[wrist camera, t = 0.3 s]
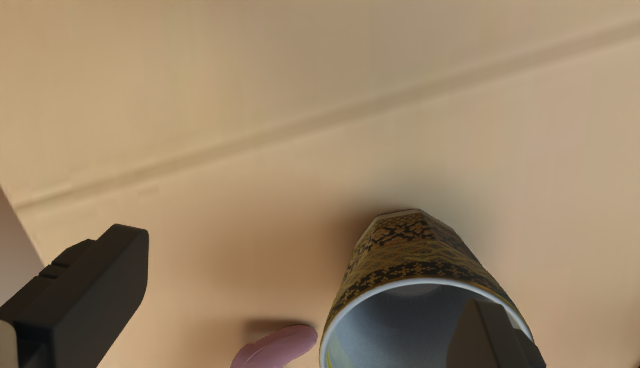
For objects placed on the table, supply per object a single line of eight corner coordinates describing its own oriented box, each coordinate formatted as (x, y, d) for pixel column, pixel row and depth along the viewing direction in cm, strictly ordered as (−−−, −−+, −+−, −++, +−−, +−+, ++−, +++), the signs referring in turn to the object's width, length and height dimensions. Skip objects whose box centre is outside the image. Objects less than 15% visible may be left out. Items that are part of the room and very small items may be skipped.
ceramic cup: (305, 268, 32) (281, 384, 22) (386, 154, 28) (397, 238, 19) (456, 352, 33) (492, 490, 24) (552, 256, 30) (637, 377, 20)
